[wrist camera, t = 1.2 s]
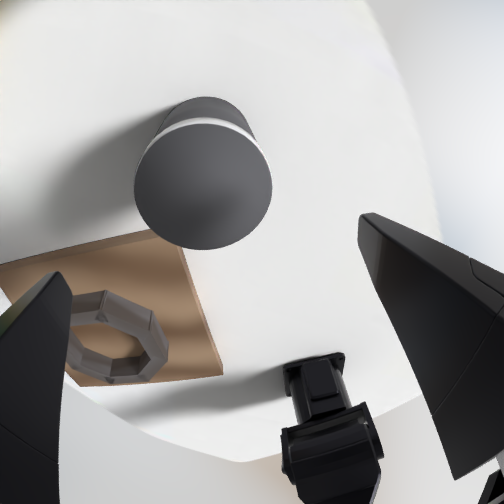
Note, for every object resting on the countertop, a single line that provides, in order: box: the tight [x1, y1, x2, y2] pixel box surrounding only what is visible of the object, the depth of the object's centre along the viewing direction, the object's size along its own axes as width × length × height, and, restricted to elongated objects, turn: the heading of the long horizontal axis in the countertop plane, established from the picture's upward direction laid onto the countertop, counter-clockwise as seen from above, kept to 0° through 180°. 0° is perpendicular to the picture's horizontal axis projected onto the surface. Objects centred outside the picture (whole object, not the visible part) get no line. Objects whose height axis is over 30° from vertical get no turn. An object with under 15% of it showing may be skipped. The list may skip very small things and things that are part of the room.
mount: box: [0, 229, 223, 387], centre depth 24 cm, size 16×16×3 cm
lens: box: [134, 97, 273, 250], centre depth 15 cm, size 5×5×7 cm
